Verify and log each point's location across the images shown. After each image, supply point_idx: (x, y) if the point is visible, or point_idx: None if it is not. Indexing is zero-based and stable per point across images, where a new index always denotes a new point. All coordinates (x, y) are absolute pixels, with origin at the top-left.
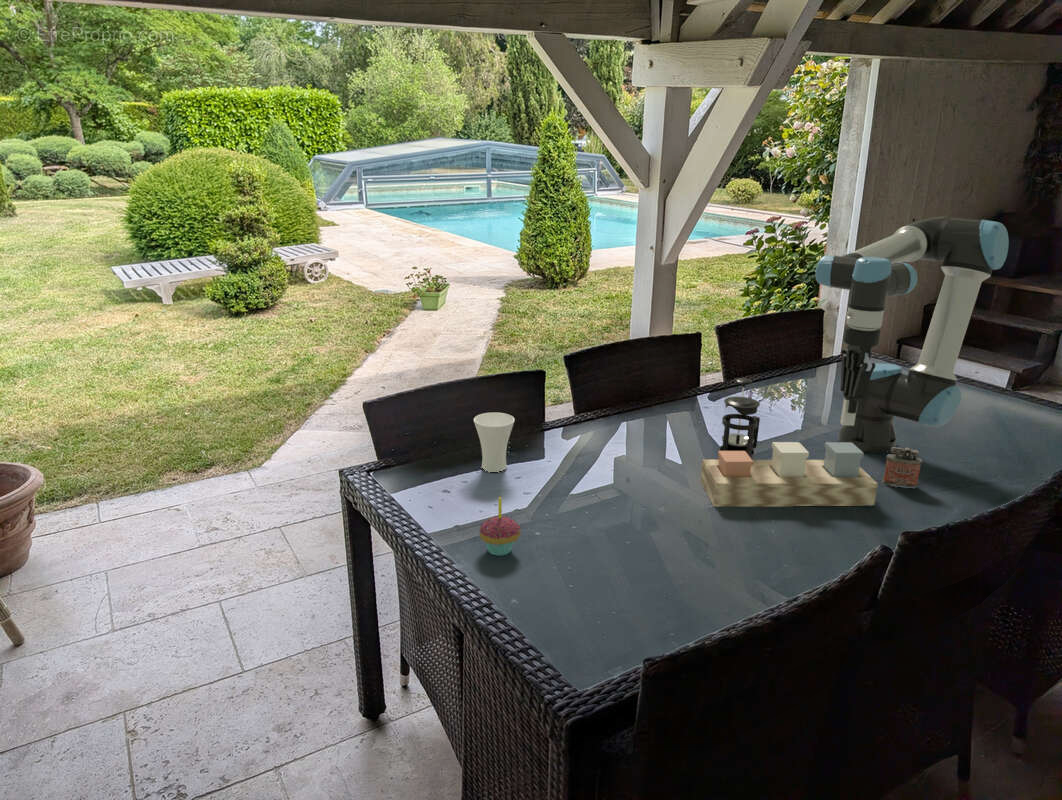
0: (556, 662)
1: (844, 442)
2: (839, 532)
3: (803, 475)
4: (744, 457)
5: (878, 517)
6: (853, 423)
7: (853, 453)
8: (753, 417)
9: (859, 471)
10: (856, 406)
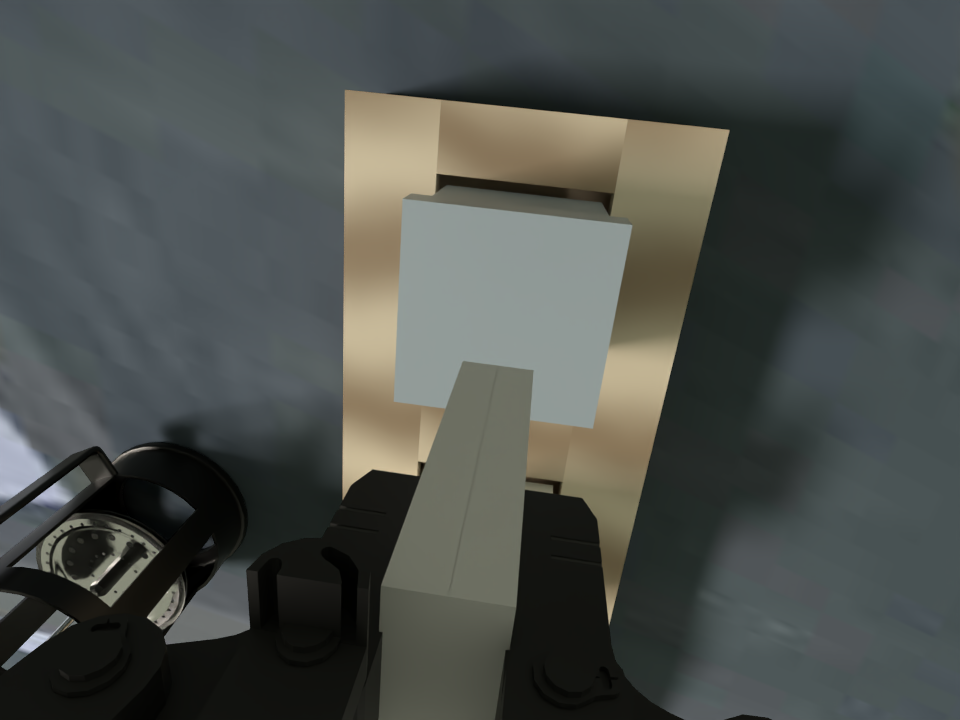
0: None
1: (402, 262)
2: (871, 422)
3: (552, 493)
4: None
5: (804, 169)
6: (530, 388)
7: (615, 304)
8: None
9: (530, 148)
10: (602, 584)
